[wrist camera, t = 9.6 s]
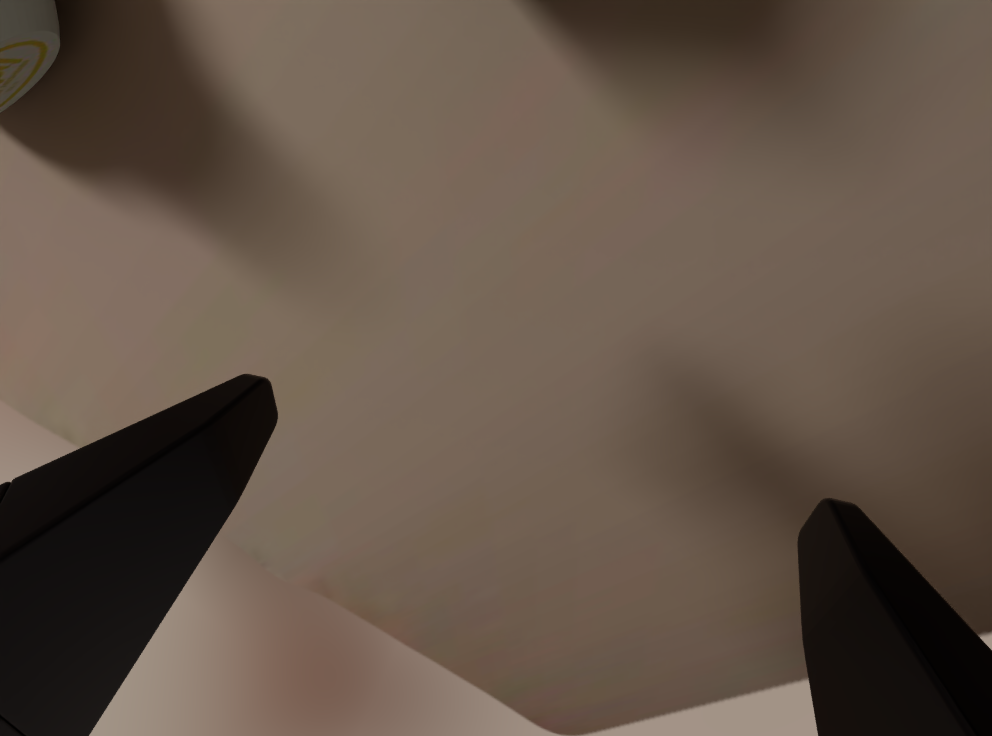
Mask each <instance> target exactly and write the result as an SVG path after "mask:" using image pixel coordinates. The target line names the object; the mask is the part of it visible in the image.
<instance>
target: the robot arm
mask: <svg viewBox="0 0 992 736" xmlns="http://www.w3.org/2000/svg"><path fill="white" fill-rule="evenodd" d="M277 419H278V411H277V407H276V403H275V398H274V394H273V390H272V385H271V382H270V381H269V380H268V379H267V378H265V377H261V376H256V375H251V374H242V375H240V376H237V377H235V378H233V379H231V380H229V381H226V382H224V383H222V384H220V385H218V386H215V387H213V388H211V389H209V390H207V391H205V392H202V393H200V394H198V395H196V396H194V397H191V398H189V399H187V400H185V401H183V402H181V403H178V404H176V405H174V406H172V407H170V408H167V409H165V410H163V411H161V412H159V413H156V414H154V415H152V416H150V417H148V418H146V419H143V420H141V421H139V422H137V423H135V424H132V425H130V426H128V427H126V428H124V429H122V430H119V431H117V432H115V433H113V434H111V435H108V436H106V437H104V438H102V439H100V440H97V441H95V442H93V443H91V444H89V445H87V446H84V447H82V448H80V449H78V450H76V451H73V452H72V453H69V454H67V455H65V456H62V457H60V458H58V459H56V460H54V461H52V462H50V463H47V464H45V465H43V466H41V467H38V468H36V469H34V470H32V471H30V472H27V473H25V474H23V475H21V476H19V477H17V478H15V479H13V480H12V482H5V483H3V484H1V485H0V736H89V734H90V733H91V732H92V730H93V728H94V727H95V725H96V724H97V722H98V721H99V719H100V717H101V716H102V714H103V713H104V711H105V710H106V708H107V706H108V705H109V703H110V702H111V700H112V699H113V697H114V695H115V694H116V692H117V691H118V689H119V688H120V686H121V685H122V683H123V681H124V680H125V678H126V677H127V675H128V674H129V672H130V670H131V669H132V667H133V666H134V664H135V663H136V661H137V660H138V658H139V656H140V655H141V653H142V652H143V650H144V649H145V647H146V645H147V644H148V642H149V641H150V639H151V638H152V636H153V634H154V633H155V631H156V630H157V628H158V627H159V625H160V623H161V622H162V620H163V619H164V617H165V616H166V614H167V612H168V611H169V609H170V608H171V606H172V604H173V603H174V602H175V600H176V598H177V597H178V595H179V594H180V592H181V591H182V589H183V587H184V586H185V584H186V583H187V581H188V579H189V578H190V576H191V575H192V573H193V572H194V570H195V569H196V567H197V565H198V564H199V562H200V561H201V559H202V558H203V556H204V555H205V553H206V551H207V550H208V548H209V547H210V545H211V543H212V542H213V540H214V539H215V537H216V536H217V534H218V533H219V531H220V529H221V528H222V526H223V525H224V523H225V522H226V520H227V518H228V517H229V515H230V514H231V512H232V510H233V509H234V507H235V506H236V504H237V502H238V500H239V499H240V497H241V495H242V493H243V491H244V489H245V487H246V485H247V483H248V481H249V479H250V477H251V475H252V473H253V471H254V469H255V467H256V465H257V463H258V461H259V459H260V457H261V455H262V453H263V451H264V449H265V447H266V445H267V443H268V441H269V439H270V437H271V435H272V433H273V431H274V429H275V426H276V424H277ZM798 564H799V584H800V605H801V625H802V638H803V646H804V653H805V660H806V666H807V672H808V678H809V683H810V690H811V696H812V701H813V707H814V713H815V719H816V725H817V731H818V736H992V650H991V649H990V648H989V647H988V646H987V645H986V644H985V643H984V642H983V641H982V640H981V638H980V637H979V636H978V635H977V634H976V633H975V632H974V631H973V630H972V629H971V628H970V627H969V625H968V624H967V623H966V622H965V621H964V620H963V619H962V618H961V617H960V616H959V615H958V614H957V613H956V611H955V610H954V609H953V608H952V607H951V606H950V605H949V604H948V603H947V602H946V601H945V600H944V599H943V597H942V596H941V595H940V594H939V593H938V592H937V591H936V590H935V589H934V588H933V587H932V586H931V585H930V583H929V582H928V581H927V580H926V579H925V578H924V577H923V576H922V575H921V574H920V573H919V572H918V570H917V569H916V568H915V567H914V566H913V565H912V564H911V563H910V562H909V561H908V560H907V559H906V558H905V556H904V555H903V554H902V553H901V552H900V551H899V550H898V549H897V548H896V547H895V546H894V545H893V544H892V542H891V541H890V540H889V539H888V538H887V537H886V536H885V535H884V534H883V533H882V532H881V531H880V530H879V528H878V527H877V526H876V525H875V524H874V523H873V522H872V521H871V520H870V519H869V518H868V517H867V516H866V514H865V513H864V512H863V511H862V510H861V509H860V508H859V507H858V506H856V505H855V504H853V503H850V502H846V501H841V500H836V499H832V498H825V499H823V500H821V501H820V503H819V504H818V505H817V507H816V508H815V509H814V511H813V512H812V514H811V515H810V517H809V518H808V520H807V521H806V522H805V524H804V525H803V527H802V528H801V530H800V533H799V536H798Z"/></svg>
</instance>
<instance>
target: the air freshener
mask: <svg viewBox="0 0 992 736" xmlns="http://www.w3.org/2000/svg"><path fill="white" fill-rule="evenodd" d="M59 49H60V31H59V21H58V15H57V10H56V5H55V0H0V113H1V112H2V111H4V110H5V109H7V108H8V107H9V106H11V105H12V104H13V103H15V102H16V101H17V100H18V99H20V98H21V97H22V96H23V95H24V94H25V93H26V92H28V91H29V90H30V89H31V88H32V87H33V86H34V85H35V84H36V83H37V82H38V81H39V80H40V79H41V78H42V76H43V75H44V74H45V73H46V72H47V71H48V69H49V68H50V66H51V65H52V63H53V62H54V60H55V59H56V56H57V54H58V52H59Z"/></svg>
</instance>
